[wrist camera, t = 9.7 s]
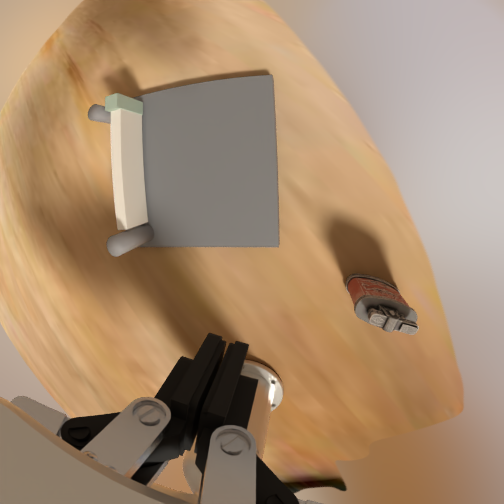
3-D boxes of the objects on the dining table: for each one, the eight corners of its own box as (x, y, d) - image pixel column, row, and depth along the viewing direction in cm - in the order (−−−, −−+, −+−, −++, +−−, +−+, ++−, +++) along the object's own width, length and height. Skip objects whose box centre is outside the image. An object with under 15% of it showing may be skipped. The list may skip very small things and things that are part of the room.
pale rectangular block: (149, 221, 35) (123, 231, 29) (137, 222, 35) (111, 231, 29) (142, 102, 31) (117, 92, 25) (131, 105, 31) (105, 97, 25)
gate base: (279, 244, 35) (272, 267, 26) (133, 244, 38) (95, 262, 30) (273, 78, 29) (264, 49, 21) (126, 103, 33) (86, 91, 24)
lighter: (341, 291, 35) (353, 331, 26) (350, 268, 34) (368, 302, 25) (392, 307, 35) (415, 347, 25) (402, 285, 34) (430, 321, 24)
